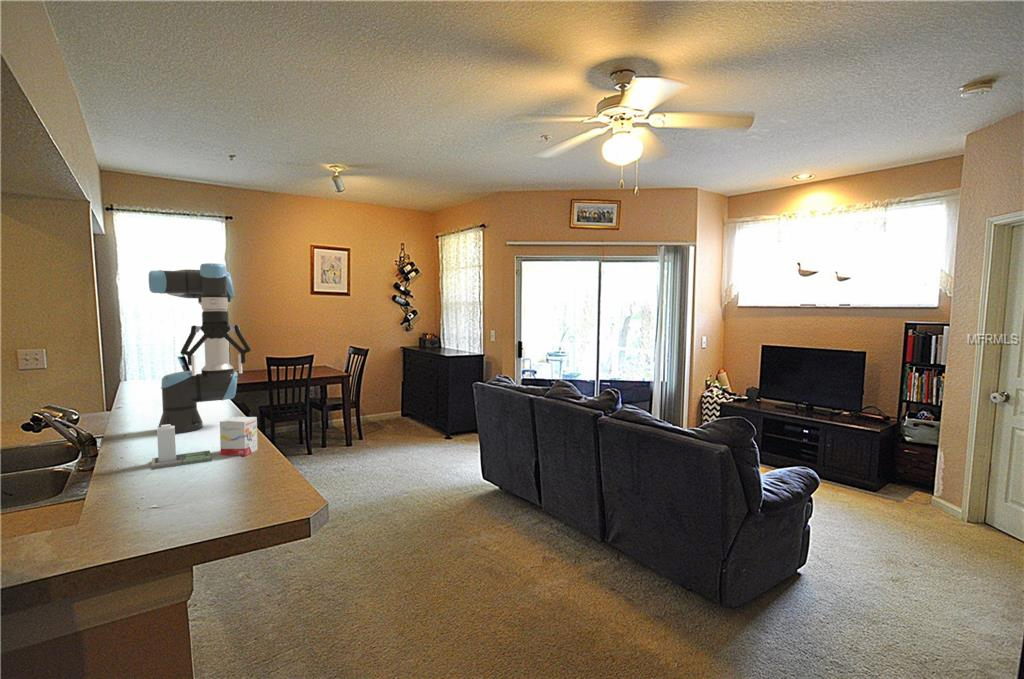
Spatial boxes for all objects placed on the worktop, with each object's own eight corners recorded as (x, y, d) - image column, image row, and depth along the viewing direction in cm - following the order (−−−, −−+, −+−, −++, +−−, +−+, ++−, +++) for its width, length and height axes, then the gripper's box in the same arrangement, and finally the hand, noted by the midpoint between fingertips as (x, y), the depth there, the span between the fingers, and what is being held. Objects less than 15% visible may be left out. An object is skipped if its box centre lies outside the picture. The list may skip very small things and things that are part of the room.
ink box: (245, 456, 170) (244, 421, 169) (219, 456, 170) (218, 421, 169) (258, 449, 178) (257, 415, 178) (234, 449, 179) (233, 415, 178)
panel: (152, 460, 166) (152, 456, 165) (209, 452, 174) (209, 448, 174) (150, 471, 155) (150, 466, 155) (212, 462, 163) (211, 457, 163)
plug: (159, 461, 163) (157, 424, 162) (176, 459, 165) (174, 423, 165) (158, 465, 159) (156, 427, 159) (176, 462, 162) (174, 425, 161)
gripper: (167, 311, 162) (171, 377, 164) (255, 310, 171) (258, 373, 172) (173, 311, 169) (176, 375, 170) (257, 310, 178) (260, 371, 179)
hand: (217, 374), depth 171 cm, fingers open, 13 cm apart
